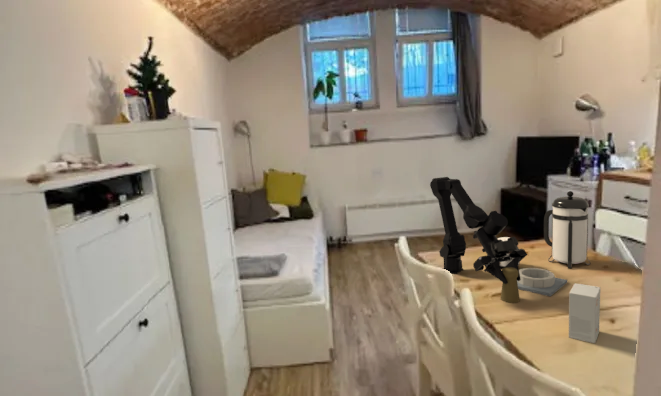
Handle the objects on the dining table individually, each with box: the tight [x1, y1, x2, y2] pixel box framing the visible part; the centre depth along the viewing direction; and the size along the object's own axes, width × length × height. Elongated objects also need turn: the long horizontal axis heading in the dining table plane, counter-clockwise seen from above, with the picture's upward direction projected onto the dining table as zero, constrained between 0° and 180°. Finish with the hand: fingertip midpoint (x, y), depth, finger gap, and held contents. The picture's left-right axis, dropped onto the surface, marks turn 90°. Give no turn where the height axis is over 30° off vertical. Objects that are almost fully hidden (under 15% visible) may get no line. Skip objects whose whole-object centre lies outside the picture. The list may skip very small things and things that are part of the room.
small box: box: [568, 283, 601, 344], centre depth 109 cm, size 8×6×13 cm
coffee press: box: [543, 190, 591, 270], centre depth 163 cm, size 17×16×30 cm
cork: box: [500, 267, 521, 304], centre depth 134 cm, size 6×6×11 cm
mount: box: [517, 267, 568, 297], centre depth 146 cm, size 16×16×4 cm
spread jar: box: [497, 236, 521, 270], centre depth 166 cm, size 12×11×12 cm
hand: (513, 282), depth 133 cm, fingers closed on cork, 5 cm apart
